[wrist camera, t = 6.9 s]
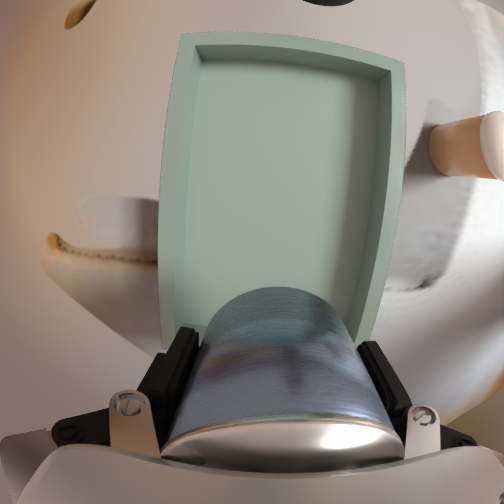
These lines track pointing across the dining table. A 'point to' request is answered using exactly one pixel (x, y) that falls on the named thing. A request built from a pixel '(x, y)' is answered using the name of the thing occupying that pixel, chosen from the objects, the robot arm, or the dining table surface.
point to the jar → (470, 147)
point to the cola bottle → (329, 2)
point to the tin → (280, 392)
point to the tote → (278, 175)
